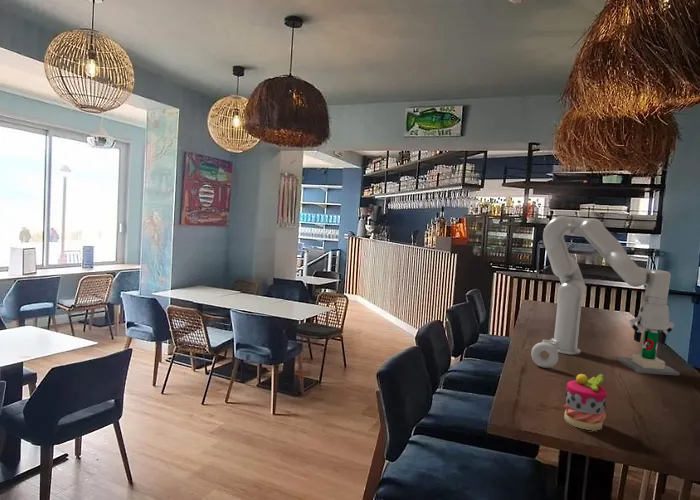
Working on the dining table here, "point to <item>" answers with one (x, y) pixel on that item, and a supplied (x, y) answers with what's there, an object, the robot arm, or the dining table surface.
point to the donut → (548, 348)
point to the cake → (585, 402)
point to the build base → (647, 370)
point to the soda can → (650, 344)
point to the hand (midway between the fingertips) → (649, 342)
